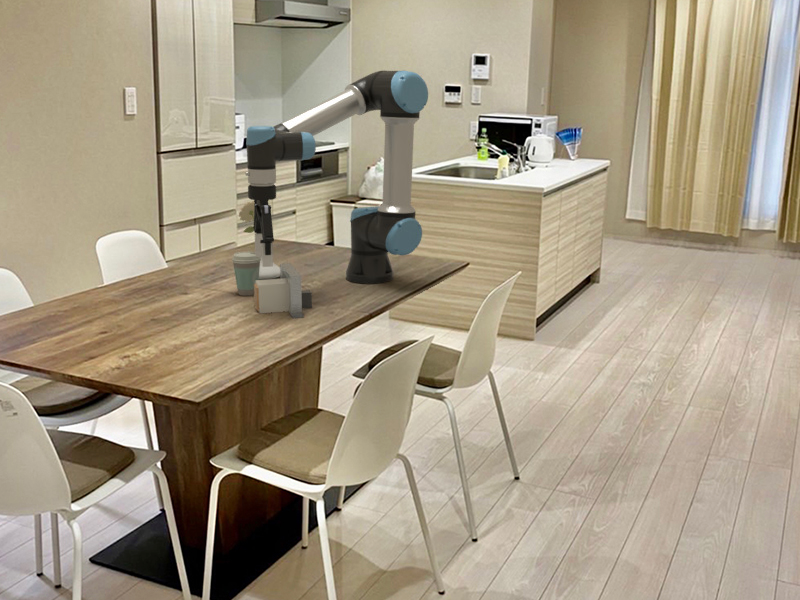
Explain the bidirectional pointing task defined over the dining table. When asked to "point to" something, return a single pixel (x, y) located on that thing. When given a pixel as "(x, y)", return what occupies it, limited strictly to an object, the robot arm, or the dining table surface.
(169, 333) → the dining table surface
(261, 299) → the plug
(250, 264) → the coffee cup
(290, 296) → the bar
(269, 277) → the flower in vase
